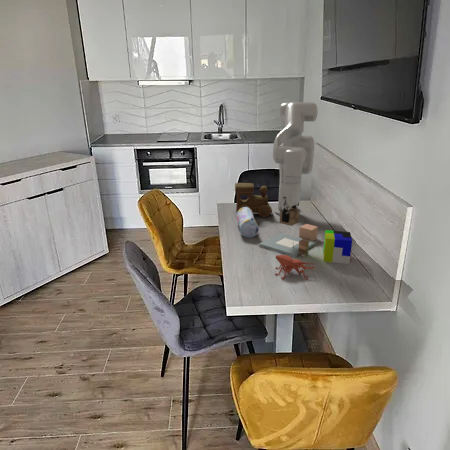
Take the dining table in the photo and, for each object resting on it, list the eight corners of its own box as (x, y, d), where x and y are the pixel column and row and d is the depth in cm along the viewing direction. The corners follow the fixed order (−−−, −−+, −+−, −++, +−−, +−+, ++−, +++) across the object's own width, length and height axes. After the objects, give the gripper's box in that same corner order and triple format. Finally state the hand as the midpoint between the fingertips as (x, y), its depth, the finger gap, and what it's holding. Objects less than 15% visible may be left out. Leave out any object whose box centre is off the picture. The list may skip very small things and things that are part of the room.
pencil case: (258, 238, 185) (259, 219, 182) (239, 238, 184) (240, 219, 181) (252, 223, 204) (253, 205, 201) (235, 223, 204) (235, 205, 201)
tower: (301, 252, 170) (302, 239, 168) (307, 254, 168) (309, 240, 166) (298, 254, 168) (299, 241, 166) (304, 256, 166) (305, 242, 164)
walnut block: (286, 219, 177) (287, 206, 175) (298, 222, 174) (299, 209, 172) (279, 222, 173) (280, 209, 171) (291, 226, 169) (292, 212, 167)
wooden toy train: (234, 217, 212) (235, 187, 207) (234, 211, 223) (235, 182, 217) (272, 218, 212) (273, 188, 206) (270, 211, 223) (271, 182, 217)
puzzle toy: (349, 264, 160) (352, 240, 157) (323, 261, 162) (326, 238, 158) (347, 254, 169) (350, 232, 166) (323, 251, 171) (325, 230, 168)
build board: (281, 234, 189) (281, 232, 189) (315, 244, 178) (315, 241, 178) (259, 246, 176) (259, 243, 176) (294, 257, 165) (295, 254, 165)
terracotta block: (305, 235, 189) (306, 223, 187) (316, 238, 185) (317, 226, 183) (298, 239, 184) (299, 227, 182) (310, 242, 181) (311, 230, 179)
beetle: (274, 279, 147) (276, 247, 143) (274, 264, 159) (276, 235, 154) (315, 282, 145) (319, 250, 141) (313, 267, 157) (316, 237, 152)
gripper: (294, 174, 175) (292, 213, 181) (273, 181, 163) (270, 223, 169) (310, 177, 171) (306, 217, 177) (289, 184, 158) (286, 227, 164)
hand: (289, 219), depth 173 cm, fingers closed on walnut block, 6 cm apart
